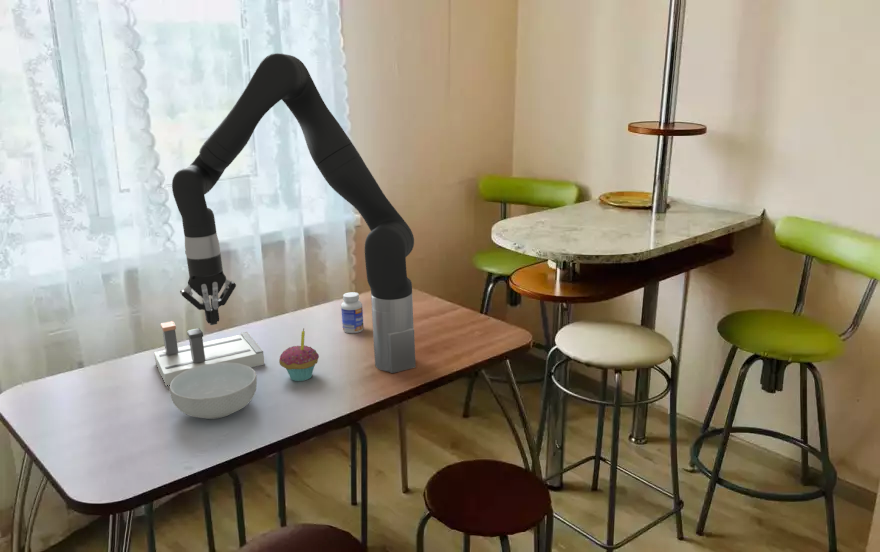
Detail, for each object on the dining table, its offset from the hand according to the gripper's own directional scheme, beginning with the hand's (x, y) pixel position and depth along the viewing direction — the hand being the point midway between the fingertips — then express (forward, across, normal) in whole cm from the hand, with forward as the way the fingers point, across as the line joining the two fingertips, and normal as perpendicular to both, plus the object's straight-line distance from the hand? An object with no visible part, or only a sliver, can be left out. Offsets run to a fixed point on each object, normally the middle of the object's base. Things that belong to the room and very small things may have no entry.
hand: (213, 323), depth 174 cm
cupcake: (+9, +13, -22) cm, 27 cm away
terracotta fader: (+5, -10, 0) cm, 11 cm away
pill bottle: (+9, +34, -2) cm, 36 cm away
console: (+8, -3, -4) cm, 10 cm away
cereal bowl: (+9, -7, -28) cm, 30 cm away
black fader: (+5, -6, -8) cm, 11 cm away
